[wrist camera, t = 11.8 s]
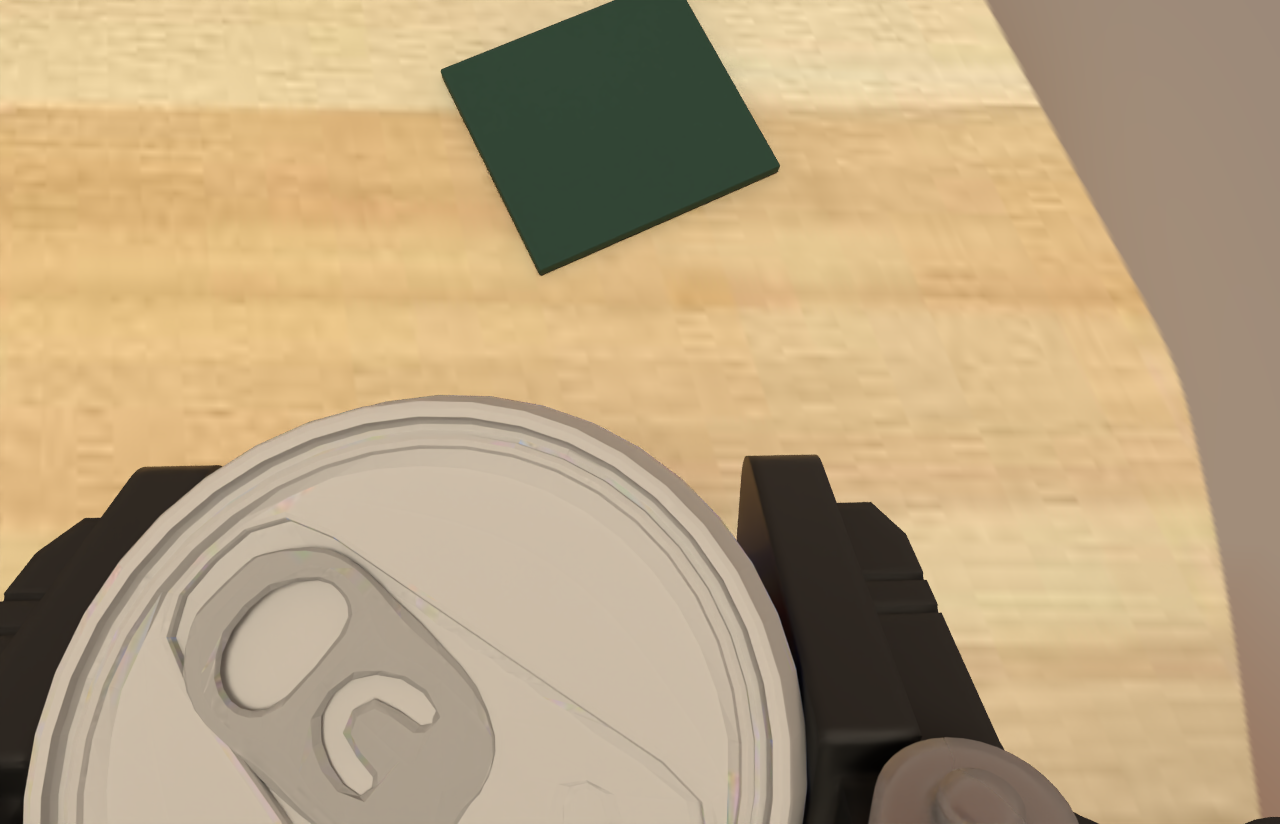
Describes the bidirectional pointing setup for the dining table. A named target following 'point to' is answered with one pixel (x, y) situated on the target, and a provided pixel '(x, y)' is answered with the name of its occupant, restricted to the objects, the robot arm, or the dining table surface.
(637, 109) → the mat
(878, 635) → the robot arm
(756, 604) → the beverage can
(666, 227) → the dining table surface
